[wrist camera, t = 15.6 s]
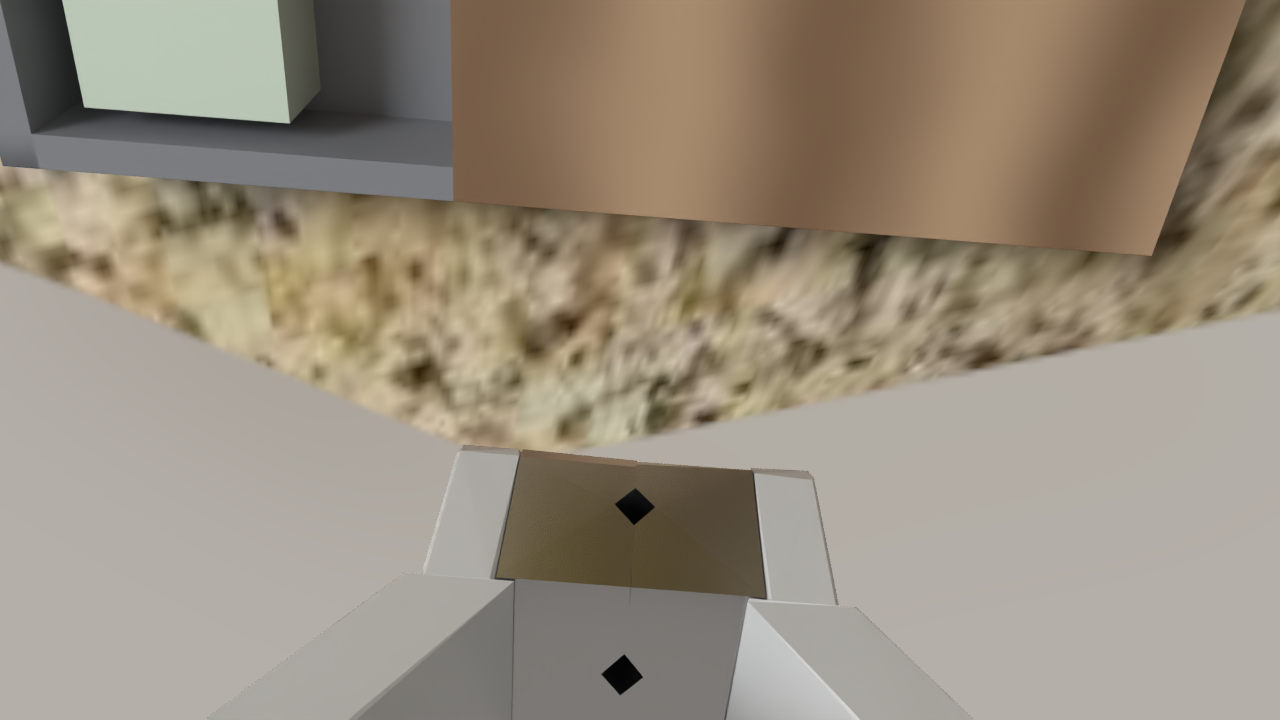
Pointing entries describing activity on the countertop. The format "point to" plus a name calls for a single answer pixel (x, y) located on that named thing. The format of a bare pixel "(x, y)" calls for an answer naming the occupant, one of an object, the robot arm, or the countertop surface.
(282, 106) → the tile sage
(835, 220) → the board
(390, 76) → the tray
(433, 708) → the robot arm
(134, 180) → the countertop surface
